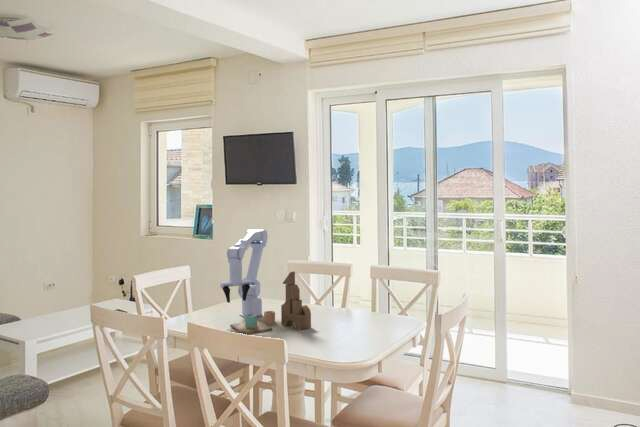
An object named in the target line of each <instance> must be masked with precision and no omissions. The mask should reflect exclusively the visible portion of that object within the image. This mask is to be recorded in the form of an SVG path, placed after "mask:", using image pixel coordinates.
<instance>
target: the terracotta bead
mask: <svg viewBox="0 0 640 427" xmlns="http://www.w3.org/2000/svg"><path fill="white" fill-rule="evenodd" d="M263 323H264V324H266V325H273V324H276V311H274V310H266V311H264V312H263Z"/></svg>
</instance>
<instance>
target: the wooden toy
mask: <svg viewBox="0 0 640 427" xmlns="http://www.w3.org/2000/svg"><path fill="white" fill-rule="evenodd" d="M282 284H283V285H285V301H284V303H283V304H281V305H280V306H281V308H280V309H281V311H280V312H281V314H280V315H281V316H280V317H281V319H280V320H281V326H284V327H288V326H289V327H290V326H292V324H293V325H294V327H295V330H298V331H304V330H307V329H311V328H312V324H311V323H312V314H311V308H309V306H308V305H307V304H305V305H303V300H302V299H300V298H301V296H300V295H301V294H300V293H301V292H300V287H299V286H298V284H296V272H295V271H290V272H289V273H288V275H287V276H286V278H285V279H284V280H283V282H282Z"/></svg>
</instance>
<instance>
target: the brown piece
mask: <svg viewBox="0 0 640 427" xmlns="http://www.w3.org/2000/svg"><path fill="white" fill-rule="evenodd" d="M250 316H252V314H250ZM229 326H230V328H232V329H233V330H234V331H236V332H237V333H239V334H240V333H243V334H245V335H249V334H250V335H251V334H257V333H263V332H269V331H270V332H271V331H273V327H271V326H269V324H264V321H263V322H262V321H261V320H257V326H256V327H253V328H247V327H245V321H244V322H239V323H231V324H230V325H229Z"/></svg>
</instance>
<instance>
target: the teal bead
mask: <svg viewBox="0 0 640 427" xmlns="http://www.w3.org/2000/svg"><path fill="white" fill-rule="evenodd" d="M257 321H258V316H257V315H256V314H252V316H250V314H246V315H245V317H244V322H245V327H247V328H253V327H256V326H257Z"/></svg>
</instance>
